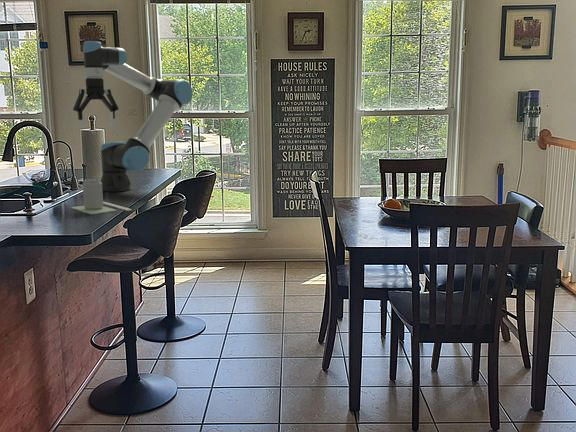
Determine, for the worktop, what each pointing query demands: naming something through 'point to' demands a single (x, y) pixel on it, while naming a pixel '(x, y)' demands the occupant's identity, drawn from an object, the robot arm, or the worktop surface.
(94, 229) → the worktop surface
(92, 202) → the can
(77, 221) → the worktop surface
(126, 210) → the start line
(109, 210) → the mat
